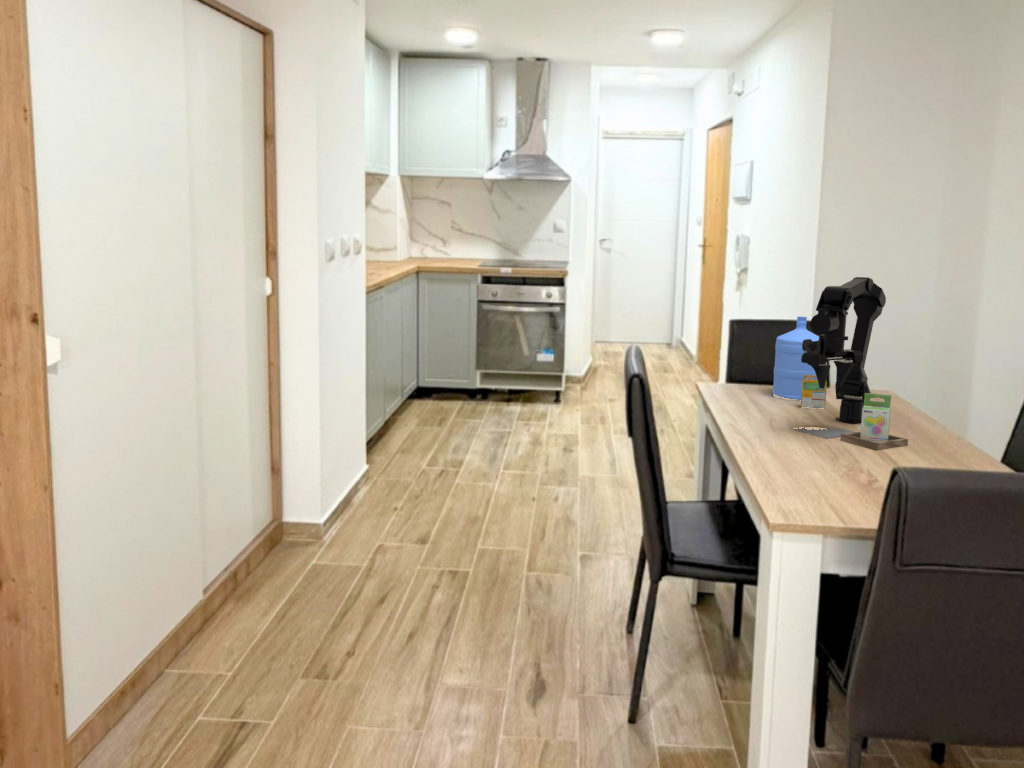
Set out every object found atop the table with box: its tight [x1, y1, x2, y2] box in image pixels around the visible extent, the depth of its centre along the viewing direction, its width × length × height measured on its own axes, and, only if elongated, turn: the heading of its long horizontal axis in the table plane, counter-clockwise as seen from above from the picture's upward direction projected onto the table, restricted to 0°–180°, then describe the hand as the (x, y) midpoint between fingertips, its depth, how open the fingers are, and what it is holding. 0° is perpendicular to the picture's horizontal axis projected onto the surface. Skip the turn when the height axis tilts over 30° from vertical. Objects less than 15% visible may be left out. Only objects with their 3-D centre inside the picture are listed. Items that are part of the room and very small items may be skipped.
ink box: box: [860, 393, 892, 442], centre depth 255 cm, size 7×4×13 cm, turn 66°
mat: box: [794, 427, 856, 440], centre depth 269 cm, size 14×14×1 cm
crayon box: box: [800, 375, 828, 410], centre depth 300 cm, size 7×3×12 cm, turn 76°
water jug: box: [771, 316, 820, 400], centre depth 317 cm, size 16×16×28 cm
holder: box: [839, 431, 909, 451], centre depth 256 cm, size 12×12×2 cm
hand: (830, 387), depth 267 cm, fingers open, 6 cm apart
